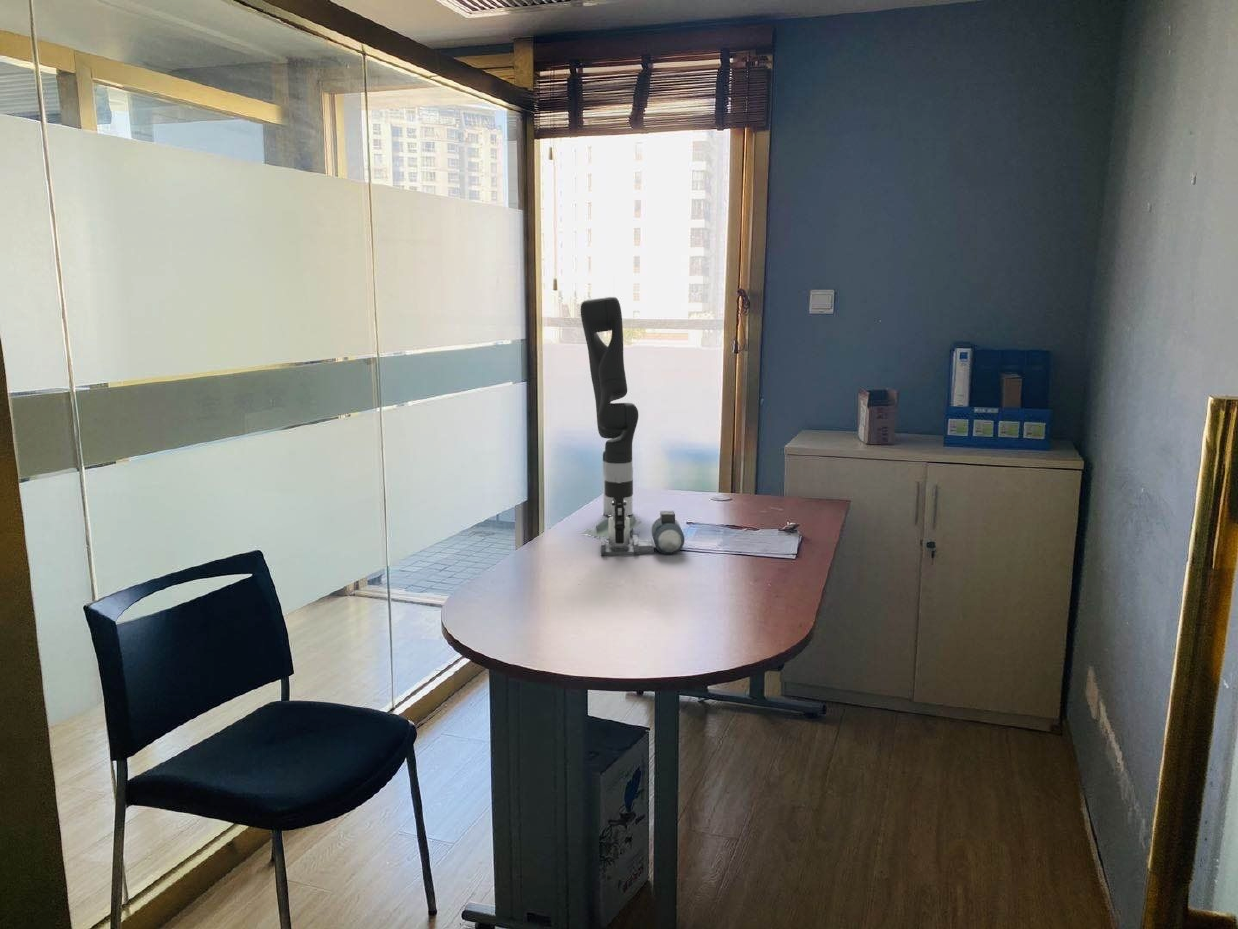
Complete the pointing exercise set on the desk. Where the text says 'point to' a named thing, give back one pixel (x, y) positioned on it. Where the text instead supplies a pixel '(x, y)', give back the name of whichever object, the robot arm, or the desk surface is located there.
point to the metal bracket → (604, 528)
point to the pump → (612, 532)
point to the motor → (664, 536)
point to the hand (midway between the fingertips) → (619, 539)
